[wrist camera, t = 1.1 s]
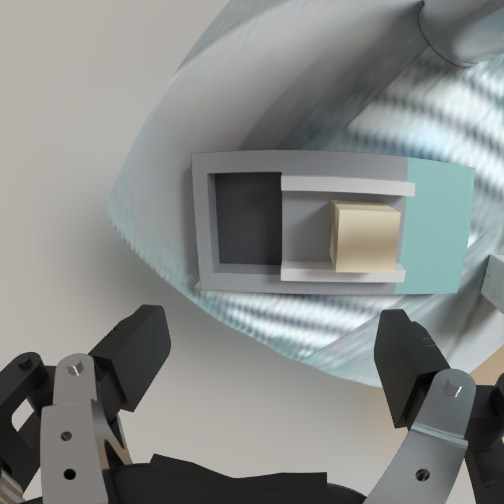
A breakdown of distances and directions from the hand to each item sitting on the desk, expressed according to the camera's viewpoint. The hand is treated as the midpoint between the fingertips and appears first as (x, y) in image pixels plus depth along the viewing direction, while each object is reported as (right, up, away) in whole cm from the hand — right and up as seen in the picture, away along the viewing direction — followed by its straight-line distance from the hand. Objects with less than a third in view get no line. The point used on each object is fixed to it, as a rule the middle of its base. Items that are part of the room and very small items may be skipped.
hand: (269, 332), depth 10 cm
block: (+9, +5, +16) cm, 19 cm away
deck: (+9, +6, +19) cm, 21 cm away
